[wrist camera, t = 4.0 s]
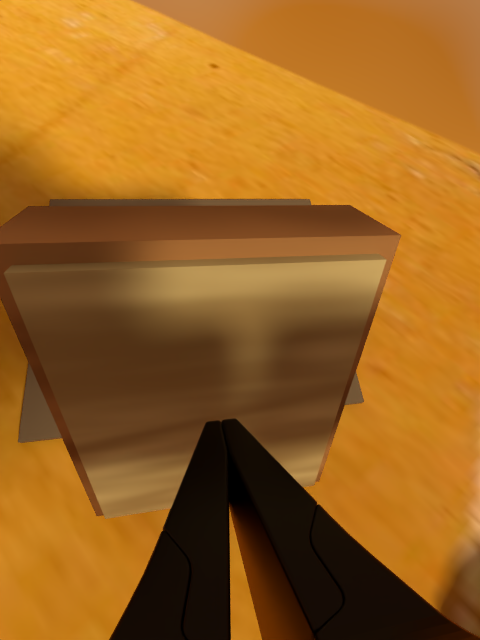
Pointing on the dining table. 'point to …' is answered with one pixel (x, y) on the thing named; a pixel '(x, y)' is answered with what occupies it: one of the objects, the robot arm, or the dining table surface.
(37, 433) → the charcoal rubber mat
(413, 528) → the dining table surface
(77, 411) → the brown wooden block
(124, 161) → the dining table surface
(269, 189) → the dining table surface
